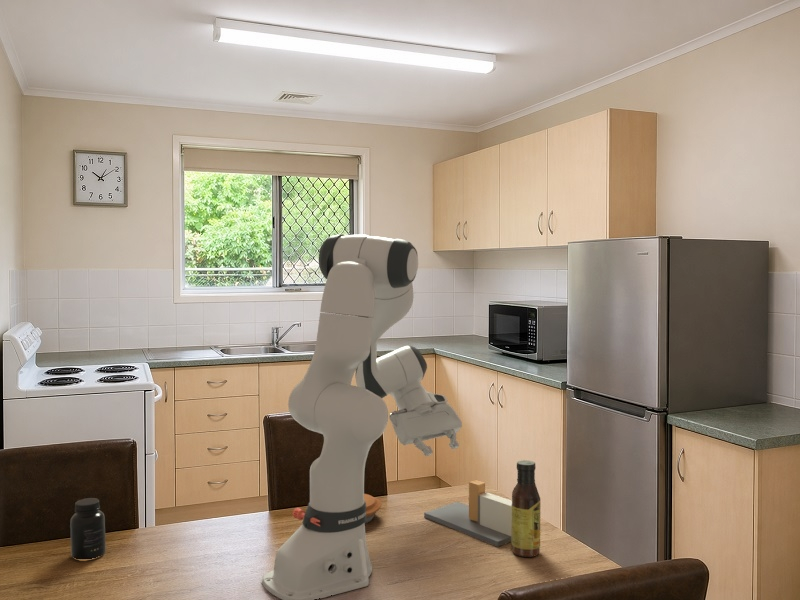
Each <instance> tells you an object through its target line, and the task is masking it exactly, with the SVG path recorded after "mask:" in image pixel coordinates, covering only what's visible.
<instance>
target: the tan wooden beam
mask: <svg viewBox="0 0 800 600" xmlns="http://www.w3.org/2000/svg"><path fill="white" fill-rule="evenodd" d="M483 493H486V482H484V481H480V480H477V479H475V480H471V481H468V505H469V519H471V520H474V521H476V522H478V495H480V494H483Z"/></svg>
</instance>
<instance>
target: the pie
mask: <svg viewBox="0 0 800 600" xmlns="http://www.w3.org/2000/svg"><path fill="white" fill-rule="evenodd" d="M364 501H365V502H366V521H365V523H366V524H368V522H369V523H370V522H371V521H372V520H373V518H375V515H376V514H377V512H378V511H379V510H380V509H381V508H382V506H383V505H382V501H381V500H380V499H378V498H376V497H374V496H372V495H370V494H368V493H364Z"/></svg>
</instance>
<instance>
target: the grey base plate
mask: <svg viewBox="0 0 800 600" xmlns="http://www.w3.org/2000/svg"><path fill="white" fill-rule="evenodd" d="M423 514H424V515H423V518H425V519H427V520H430V521H432V522H434V523H437V524H440V525H442V526H445V527H447V528H450V529H451V530H455V531H458V532H460V533H462V534H465V535H467V536H470V537H473V538H475V539H477V540H479V541H482V542H485V543H487V544H490V545H492V546H494V547H499V548H500V547H502V546H504V545H506V544H508V543H511V521H512V500H511V499H509V498H507V497H506V498H505V497H502V496H499V495H497V494H493V493H490V492H488V491H487V492H486V491H485V493H483V494H480V495H478V522H476V521H474V520H471V519H469V504H466V503H463V502H460V501H456V502H455V501H454V502H451V503H449V504H446V505H444V506H443V505H442V506H440V507H437V508H434V509H431V510H428V511H424V513H423Z"/></svg>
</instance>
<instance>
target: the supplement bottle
mask: <svg viewBox="0 0 800 600" xmlns="http://www.w3.org/2000/svg"><path fill="white" fill-rule="evenodd" d="M100 509H101V506H100V499H98V498H95V497H88V498H83V499H82V498H81V499H79V500H77V501H76V502H75V504H74V514H73V515H72V516H71V518H70V525H69V527H70V553H71V555H72V556H71V558H72V557H74V558H76V559H92V558H96V557H98V556H101V555H103V554H105V553H106V549H107V547H106V518H105V513H104V512H103V511H102V510H100ZM101 557H102V556H101Z"/></svg>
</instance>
